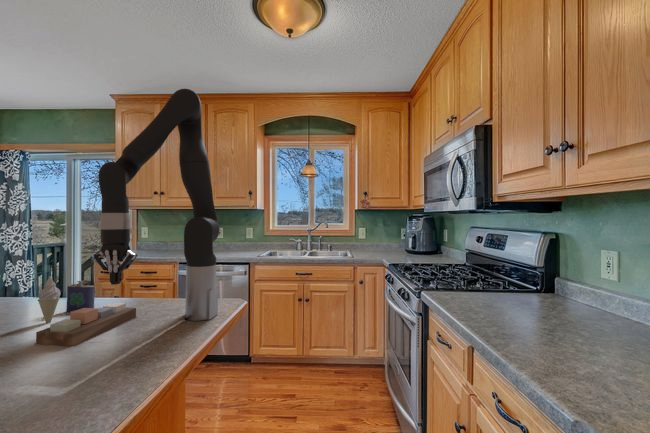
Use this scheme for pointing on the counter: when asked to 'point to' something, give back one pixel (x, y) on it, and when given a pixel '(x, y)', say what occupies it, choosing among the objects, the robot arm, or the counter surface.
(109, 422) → the counter surface
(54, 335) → the brown wooden tray
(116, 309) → the ivory key
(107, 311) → the slate key
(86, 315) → the terracotta key
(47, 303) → the ice cream cone
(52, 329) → the sage key
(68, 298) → the flask
